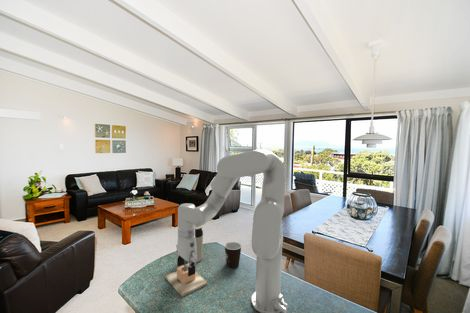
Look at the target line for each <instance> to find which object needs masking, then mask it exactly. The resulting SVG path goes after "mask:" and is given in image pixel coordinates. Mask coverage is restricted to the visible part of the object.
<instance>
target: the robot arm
mask: <svg viewBox="0 0 470 313" xmlns="http://www.w3.org/2000/svg"><path fill="white" fill-rule="evenodd" d="M216 171H217V173H216V174H215V176H214V177H213V179H212V180H211V182H210V188H211V193H210V194H209V197H208V198H206V201H205V202H204V203H203V204H201V205H199V206H196V205H195V204H194V203H191V202H190V203H187V202H186V203H181V204H180V205H178V208H177V244H176V245H175V246H176V253H177V254H176V256H177V264H176V265H177V267H180V266H183V265H185V262H187V264H189V267H188V276H191V275H193V274H195V269H196V265H198V264H197V263H198V262H199V261H198V259H197V245H196V237H195V225H196V226H203V225H206V224H207V223H208V222H209V221H210V220H212V219H213V218H214V217H216V215H217V214H218V212H220V209H221V208H222V207H223V205H224V204H225V201H226V200H227V199H228V198H227V197H229V194H230V192H231V191H232V190H233V188H234V186H235V185H236V183H237V182H238V181H239V179H240V178H244V177H250V176H254V175H255V176H256V175H260V174H263V175H262V176H263V178H262V184H261V185H262V186H261V187H262V188H261V189H262V190H261V196H260V197H261V199H260V201H259V202H258V204H257V205H256V206H255V207H254V212H253V217H252V221H253V222H252V231H251V248H252V251H253V253H254V254H255V256H256V263H255V264H256V265H255V266H256V268H255V270H256V271H255V292H253V294H252V295H251V298H250V299H251V304H252V307H253V308H254V309H255V310H256V311H257V312H259V313H288V307H289V304H288V303H287V302H286V301H284V300H285V299H284V298H283V294H281V289H282V288H281V284H282V283H281V281H282V280H281V278H282V263H283V262H282V258H283V256H282V255H283V243H284V234H283V230H282V220H283V216H284V213H285V194H286V169H285V166H284V164H283V161H282V160H281V159H280V157H279V156H278V155H277V154H275V153H274V152H272V151H270V150H267V149H263V148H262V149H253V150H248V151H244V152H241V153H236V154H231V155H225V156H224V157H221V159H219V161H218V162H217V165H216ZM190 257H192V258H191V259H190ZM191 260H192V261H193V262H190V261H191ZM197 261H198V262H197Z"/></svg>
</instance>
